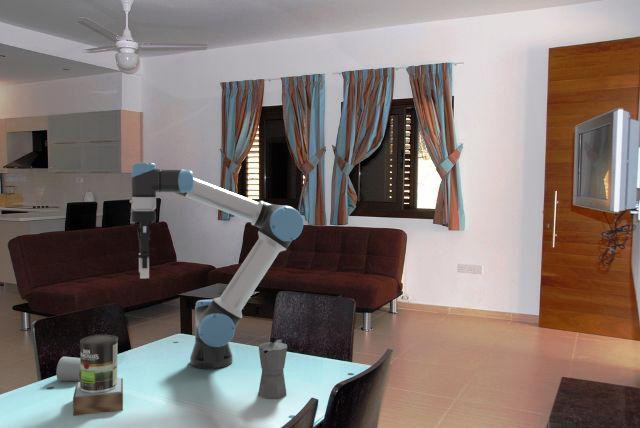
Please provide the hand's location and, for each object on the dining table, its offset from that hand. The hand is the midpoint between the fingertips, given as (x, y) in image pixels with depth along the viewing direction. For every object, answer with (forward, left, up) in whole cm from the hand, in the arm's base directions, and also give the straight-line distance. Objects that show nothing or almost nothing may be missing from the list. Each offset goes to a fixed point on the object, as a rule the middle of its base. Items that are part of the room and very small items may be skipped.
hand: (143, 275), depth 184 cm
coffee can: (+13, +19, -30) cm, 37 cm away
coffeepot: (-38, +24, -35) cm, 57 cm away
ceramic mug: (+22, -8, -35) cm, 42 cm away
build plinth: (+13, +19, -35) cm, 41 cm away
